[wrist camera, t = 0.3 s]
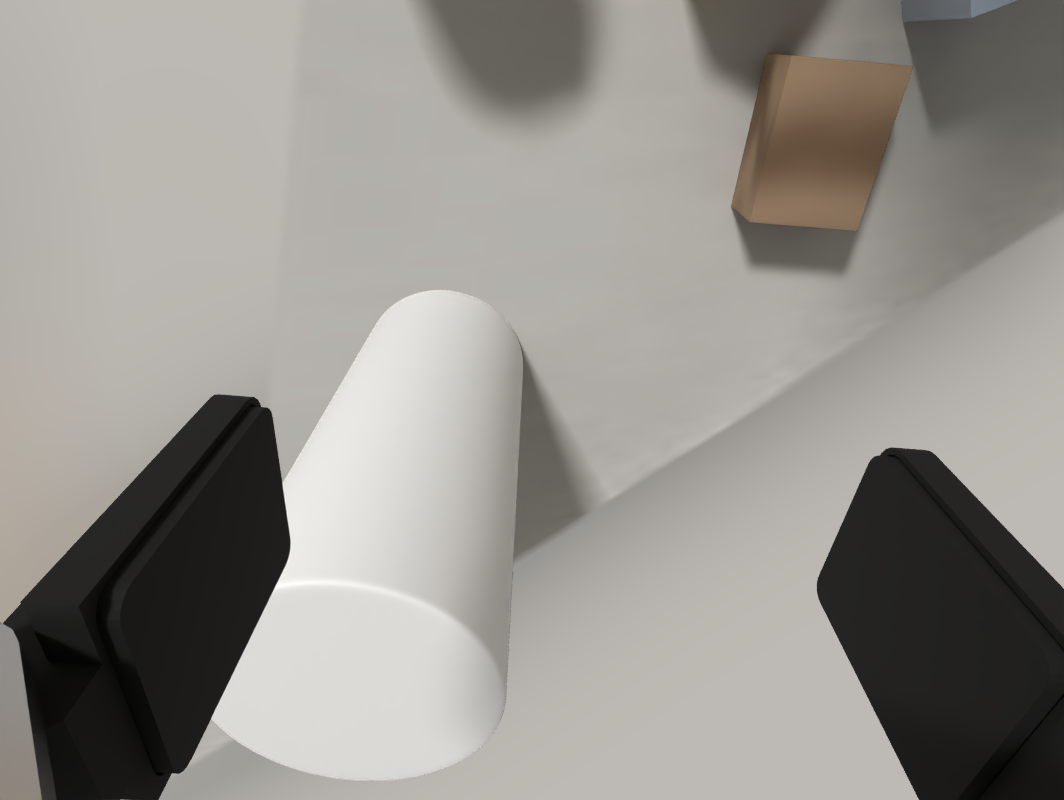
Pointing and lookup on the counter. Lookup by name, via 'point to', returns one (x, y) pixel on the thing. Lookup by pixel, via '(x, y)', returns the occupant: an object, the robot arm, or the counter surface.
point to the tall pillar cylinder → (394, 557)
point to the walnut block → (817, 140)
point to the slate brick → (947, 9)
